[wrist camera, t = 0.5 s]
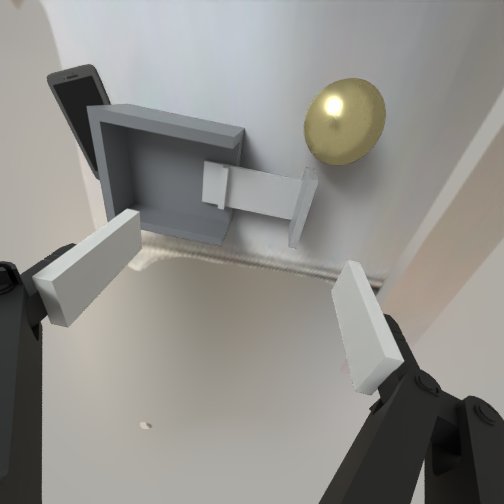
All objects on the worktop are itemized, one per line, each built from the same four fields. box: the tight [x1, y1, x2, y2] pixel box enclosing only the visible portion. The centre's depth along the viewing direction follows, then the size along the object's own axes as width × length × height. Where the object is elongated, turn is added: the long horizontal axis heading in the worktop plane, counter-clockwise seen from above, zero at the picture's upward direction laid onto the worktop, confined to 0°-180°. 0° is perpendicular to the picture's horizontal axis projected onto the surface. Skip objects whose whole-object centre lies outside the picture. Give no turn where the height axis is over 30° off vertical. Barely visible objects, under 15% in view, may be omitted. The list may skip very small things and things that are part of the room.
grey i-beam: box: [202, 160, 319, 249], centre depth 31 cm, size 9×14×5 cm, turn 80°
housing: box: [86, 104, 245, 246], centre depth 33 cm, size 14×16×8 cm
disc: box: [304, 78, 386, 165], centre depth 26 cm, size 8×8×2 cm
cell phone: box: [47, 64, 111, 180], centre depth 34 cm, size 7×14×1 cm, turn 10°
